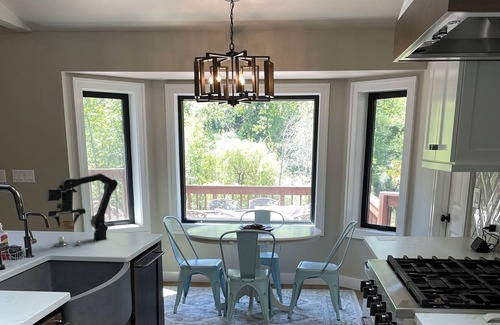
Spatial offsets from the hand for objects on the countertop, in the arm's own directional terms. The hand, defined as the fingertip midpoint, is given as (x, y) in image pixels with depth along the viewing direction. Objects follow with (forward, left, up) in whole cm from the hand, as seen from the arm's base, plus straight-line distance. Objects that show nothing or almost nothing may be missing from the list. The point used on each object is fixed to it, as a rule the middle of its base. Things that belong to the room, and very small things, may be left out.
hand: (66, 226), depth 173 cm
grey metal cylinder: (-6, +3, -11) cm, 13 cm away
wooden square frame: (0, 0, -1) cm, 1 cm away
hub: (+2, -2, -11) cm, 12 cm away
